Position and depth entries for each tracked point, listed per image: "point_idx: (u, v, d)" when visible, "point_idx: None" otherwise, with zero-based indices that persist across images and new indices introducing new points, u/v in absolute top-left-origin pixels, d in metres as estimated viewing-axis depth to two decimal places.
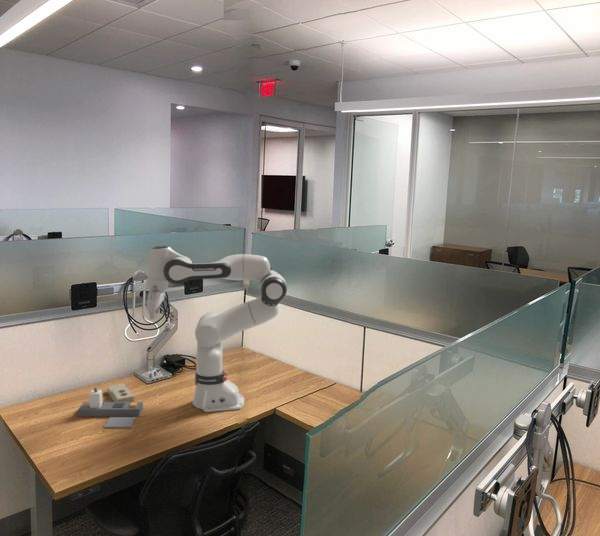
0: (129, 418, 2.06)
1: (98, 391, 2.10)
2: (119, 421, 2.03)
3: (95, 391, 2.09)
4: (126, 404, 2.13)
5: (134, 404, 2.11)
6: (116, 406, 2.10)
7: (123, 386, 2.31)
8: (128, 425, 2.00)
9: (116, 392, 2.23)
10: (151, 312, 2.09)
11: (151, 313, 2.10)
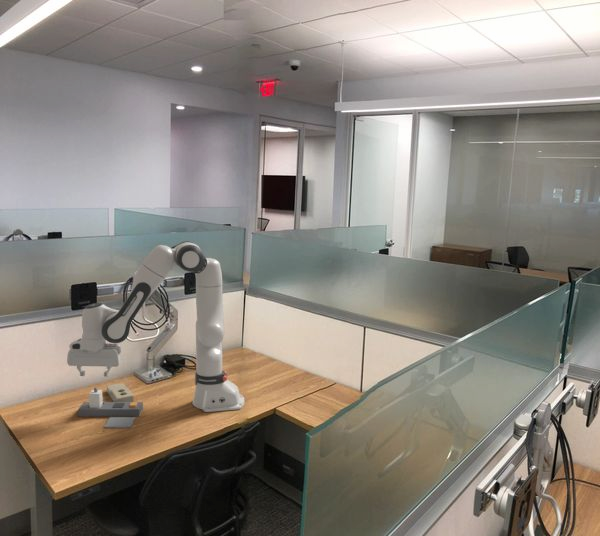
0: (129, 418, 2.06)
1: (98, 391, 2.10)
2: (119, 421, 2.03)
3: (95, 391, 2.09)
4: (126, 404, 2.13)
5: (134, 404, 2.11)
6: (116, 406, 2.10)
7: (122, 385, 2.32)
8: (128, 425, 2.00)
9: (115, 391, 2.23)
10: None
11: (109, 370, 2.08)
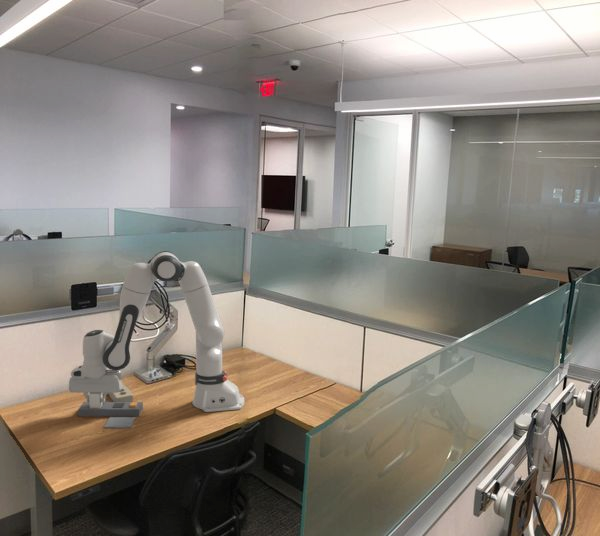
0: (129, 418, 2.06)
1: None
2: (119, 421, 2.03)
3: None
4: (126, 404, 2.13)
5: (134, 404, 2.11)
6: (116, 406, 2.10)
7: (122, 385, 2.32)
8: (128, 425, 2.00)
9: None
10: (106, 394, 2.10)
11: (105, 395, 2.10)
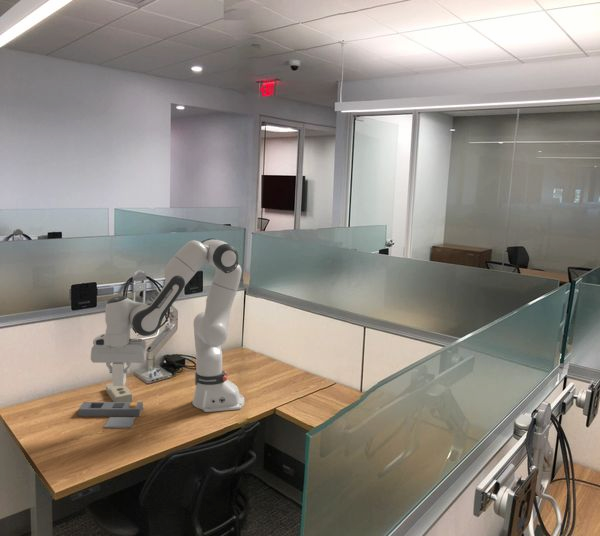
0: (129, 418, 2.06)
1: None
2: (119, 421, 2.03)
3: None
4: (126, 404, 2.13)
5: (134, 404, 2.11)
6: (116, 406, 2.10)
7: None
8: (128, 425, 2.00)
9: (114, 390, 2.24)
10: None
11: (129, 366, 1.99)
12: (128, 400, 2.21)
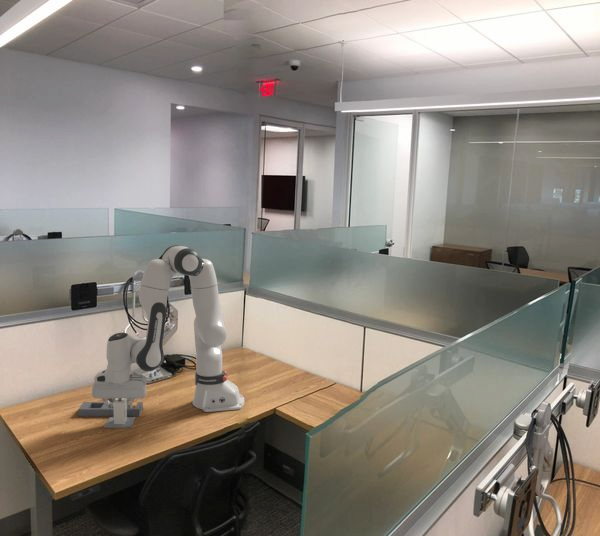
0: (129, 418, 2.06)
1: (122, 399, 2.02)
2: None
3: (119, 399, 2.01)
4: None
5: (134, 404, 2.11)
6: None
7: None
8: (128, 425, 2.00)
9: None
10: None
11: (133, 401, 2.02)
12: (127, 399, 2.22)
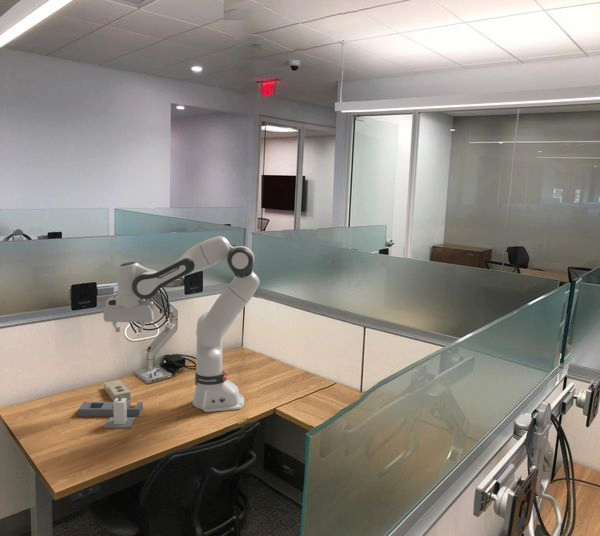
0: (129, 418, 2.06)
1: (122, 399, 2.02)
2: None
3: (119, 399, 2.01)
4: None
5: (134, 404, 2.11)
6: None
7: (119, 382, 2.35)
8: (128, 425, 2.00)
9: (113, 388, 2.26)
10: None
11: (143, 326, 2.18)
12: (126, 398, 2.23)
